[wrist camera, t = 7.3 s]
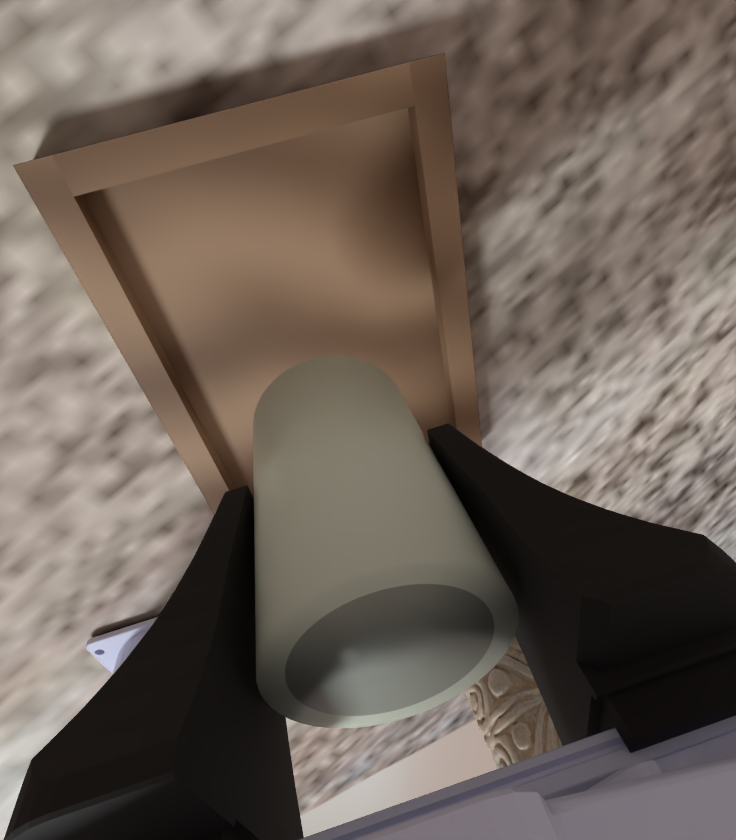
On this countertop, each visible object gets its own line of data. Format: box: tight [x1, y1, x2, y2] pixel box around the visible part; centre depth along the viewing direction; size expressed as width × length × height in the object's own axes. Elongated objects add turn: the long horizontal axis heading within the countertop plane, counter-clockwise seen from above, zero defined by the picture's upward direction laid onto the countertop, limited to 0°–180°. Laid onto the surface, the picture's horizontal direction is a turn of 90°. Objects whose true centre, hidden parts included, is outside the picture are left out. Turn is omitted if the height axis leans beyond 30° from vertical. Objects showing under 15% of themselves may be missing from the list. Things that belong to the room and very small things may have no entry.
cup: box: [253, 356, 519, 728], centre depth 12 cm, size 5×5×8 cm
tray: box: [13, 53, 482, 515], centre depth 20 cm, size 18×14×2 cm
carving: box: [465, 636, 562, 769], centre depth 33 cm, size 6×8×12 cm
